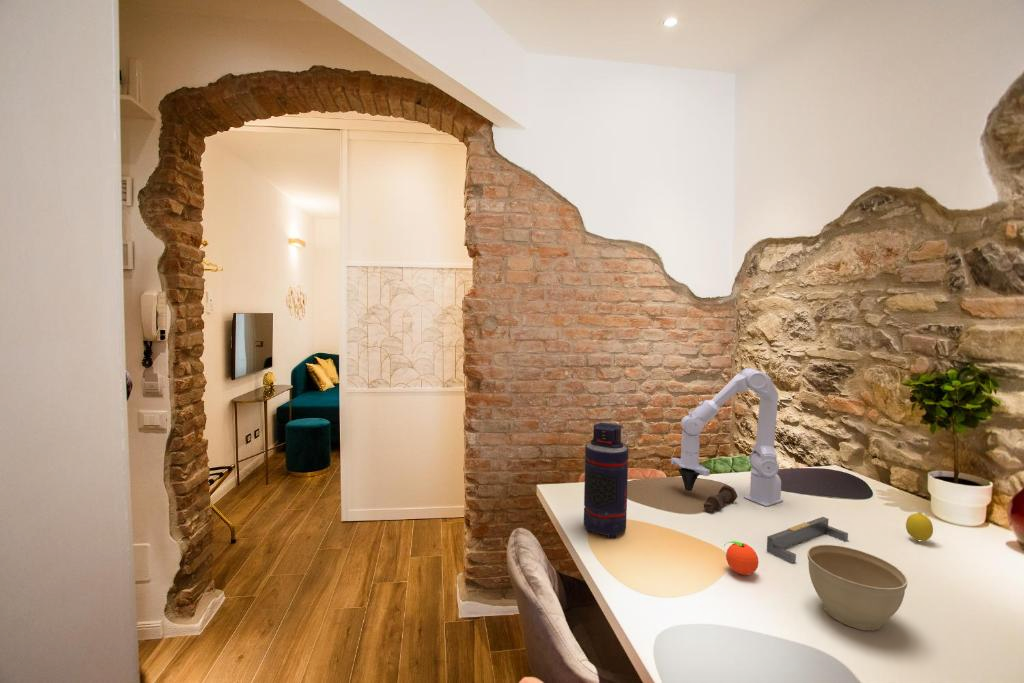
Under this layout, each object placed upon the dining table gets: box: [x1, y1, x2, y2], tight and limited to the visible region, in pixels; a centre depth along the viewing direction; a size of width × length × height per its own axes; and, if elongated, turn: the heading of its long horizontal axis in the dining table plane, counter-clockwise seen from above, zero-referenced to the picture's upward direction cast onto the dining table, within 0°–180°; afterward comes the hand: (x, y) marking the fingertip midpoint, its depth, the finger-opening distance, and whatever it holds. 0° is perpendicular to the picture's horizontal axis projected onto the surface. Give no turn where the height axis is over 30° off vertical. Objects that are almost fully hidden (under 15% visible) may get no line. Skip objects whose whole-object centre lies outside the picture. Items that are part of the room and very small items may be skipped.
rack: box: [766, 516, 849, 564], centre depth 121 cm, size 26×6×4 cm, turn 118°
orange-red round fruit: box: [723, 540, 760, 576], centre depth 108 cm, size 8×7×7 cm
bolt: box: [703, 484, 738, 513], centre depth 145 cm, size 6×5×15 cm
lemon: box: [905, 512, 934, 541], centre depth 124 cm, size 6×6×8 cm
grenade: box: [583, 421, 629, 539], centre depth 129 cm, size 14×12×30 cm
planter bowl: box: [806, 544, 908, 631], centre depth 92 cm, size 16×16×11 cm
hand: (688, 490), depth 155 cm, fingers closed
